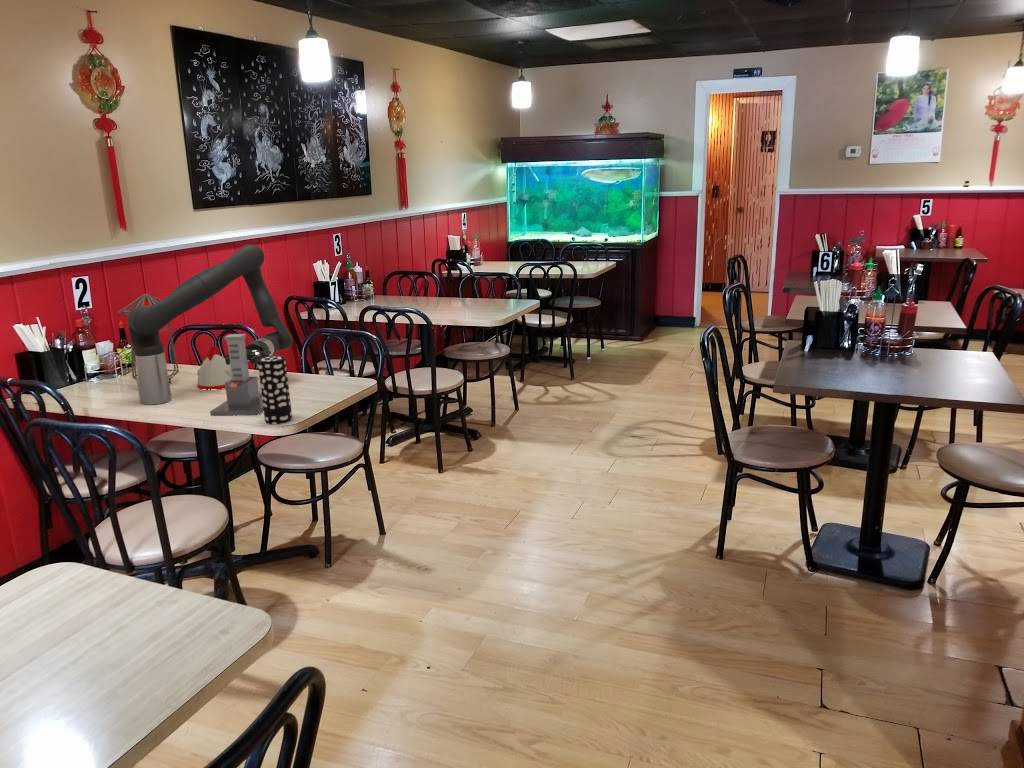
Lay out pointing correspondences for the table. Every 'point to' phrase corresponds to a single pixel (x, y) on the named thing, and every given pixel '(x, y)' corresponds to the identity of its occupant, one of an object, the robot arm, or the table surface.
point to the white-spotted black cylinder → (274, 389)
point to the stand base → (240, 399)
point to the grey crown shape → (214, 371)
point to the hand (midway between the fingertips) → (239, 361)
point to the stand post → (238, 357)
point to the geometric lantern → (150, 299)
